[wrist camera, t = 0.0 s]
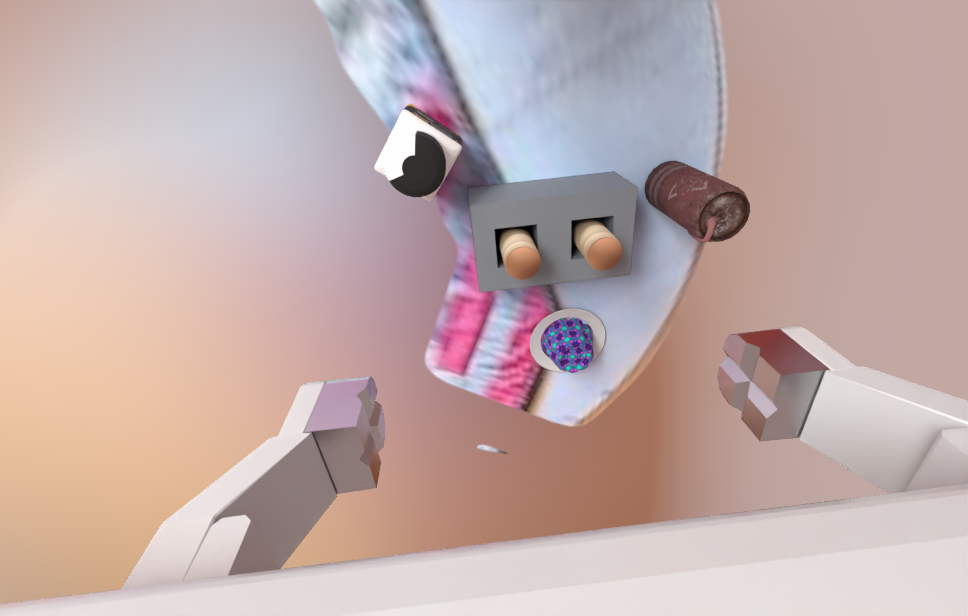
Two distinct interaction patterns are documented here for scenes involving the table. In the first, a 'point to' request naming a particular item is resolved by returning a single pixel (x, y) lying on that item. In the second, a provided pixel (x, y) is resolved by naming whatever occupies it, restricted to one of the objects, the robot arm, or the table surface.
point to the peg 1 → (519, 252)
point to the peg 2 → (596, 243)
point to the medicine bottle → (418, 154)
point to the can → (697, 201)
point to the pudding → (568, 340)
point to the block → (551, 225)
